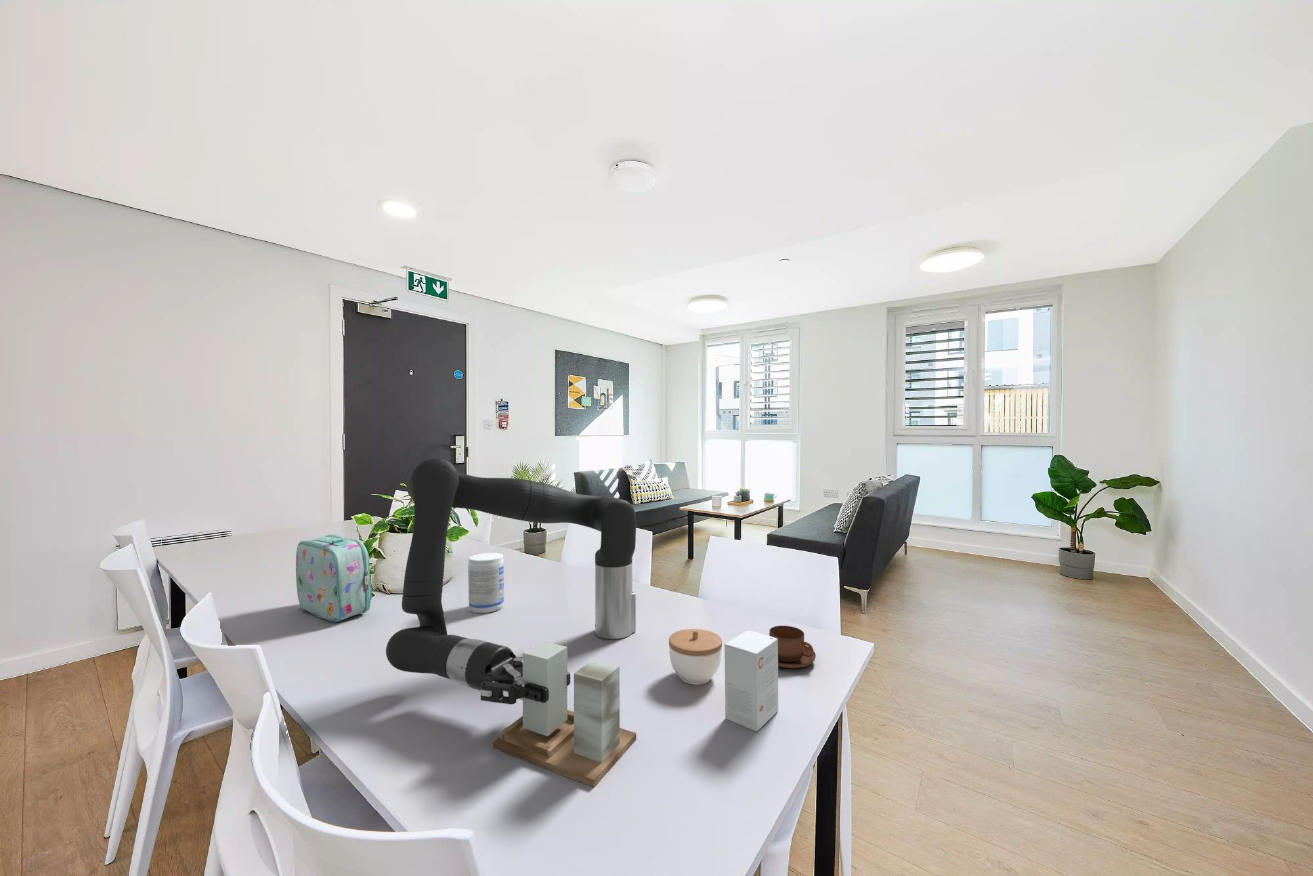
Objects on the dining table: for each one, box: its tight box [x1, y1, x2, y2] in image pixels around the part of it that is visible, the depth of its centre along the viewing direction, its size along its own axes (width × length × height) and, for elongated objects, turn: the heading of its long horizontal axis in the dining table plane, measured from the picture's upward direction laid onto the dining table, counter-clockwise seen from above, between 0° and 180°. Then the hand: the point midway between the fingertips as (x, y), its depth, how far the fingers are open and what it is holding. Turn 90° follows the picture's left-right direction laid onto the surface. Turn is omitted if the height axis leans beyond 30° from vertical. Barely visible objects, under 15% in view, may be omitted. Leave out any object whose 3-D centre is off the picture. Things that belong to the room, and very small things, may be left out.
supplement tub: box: [467, 552, 505, 614], centre depth 139 cm, size 10×10×15 cm
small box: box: [724, 629, 779, 732], centre depth 85 cm, size 8×6×13 cm
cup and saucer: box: [768, 625, 817, 669], centre depth 106 cm, size 12×12×6 cm
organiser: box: [492, 659, 637, 788], centre depth 77 cm, size 12×19×13 cm, turn 63°
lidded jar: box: [668, 628, 723, 686], centre depth 99 cm, size 11×11×9 cm
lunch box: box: [295, 533, 373, 623], centre depth 136 cm, size 27×10×21 cm, turn 58°
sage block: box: [522, 640, 568, 736], centre depth 79 cm, size 5×5×12 cm
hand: (558, 687), depth 78 cm, fingers closed on sage block, 5 cm apart
